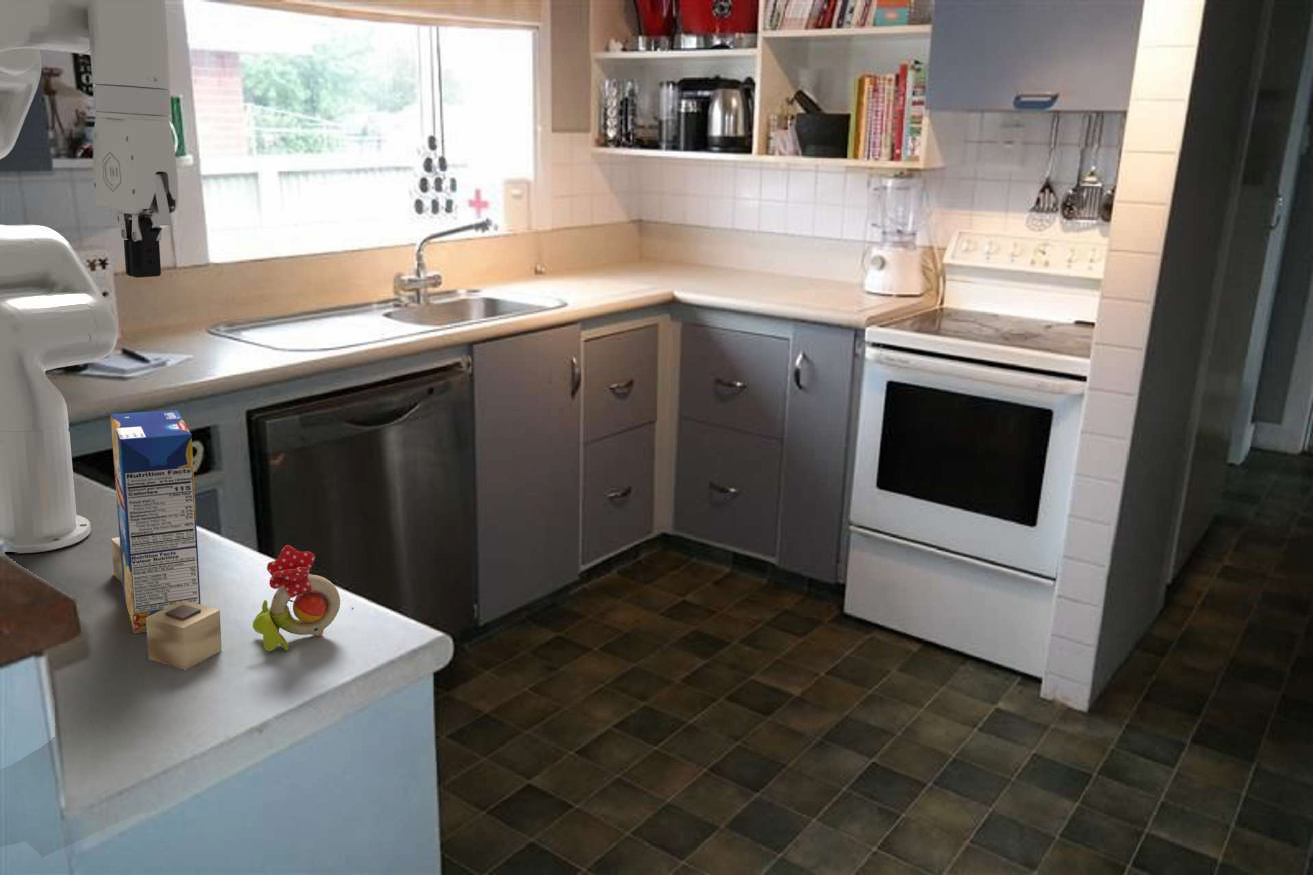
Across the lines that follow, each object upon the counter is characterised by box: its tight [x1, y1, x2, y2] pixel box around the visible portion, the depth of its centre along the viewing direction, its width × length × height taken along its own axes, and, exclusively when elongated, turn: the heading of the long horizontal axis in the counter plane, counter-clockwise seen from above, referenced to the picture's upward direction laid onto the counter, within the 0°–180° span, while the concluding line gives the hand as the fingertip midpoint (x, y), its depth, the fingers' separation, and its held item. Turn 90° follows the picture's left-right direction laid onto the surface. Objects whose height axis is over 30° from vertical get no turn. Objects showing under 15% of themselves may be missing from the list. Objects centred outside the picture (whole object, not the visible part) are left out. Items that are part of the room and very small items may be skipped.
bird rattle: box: [252, 544, 341, 652], centre depth 117 cm, size 6×11×9 cm
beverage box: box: [110, 409, 202, 633], centre depth 120 cm, size 7×11×22 cm, turn 31°
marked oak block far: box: [110, 536, 123, 584], centre depth 130 cm, size 5×5×5 cm
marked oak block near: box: [146, 600, 222, 670], centre depth 112 cm, size 5×5×5 cm
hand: (143, 275), depth 120 cm, fingers closed
